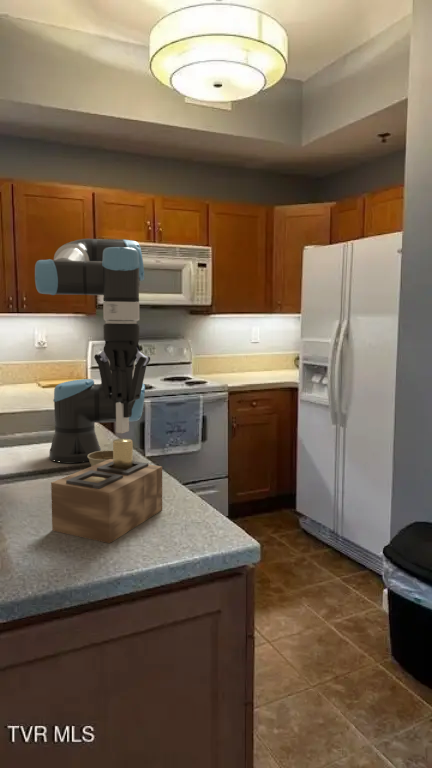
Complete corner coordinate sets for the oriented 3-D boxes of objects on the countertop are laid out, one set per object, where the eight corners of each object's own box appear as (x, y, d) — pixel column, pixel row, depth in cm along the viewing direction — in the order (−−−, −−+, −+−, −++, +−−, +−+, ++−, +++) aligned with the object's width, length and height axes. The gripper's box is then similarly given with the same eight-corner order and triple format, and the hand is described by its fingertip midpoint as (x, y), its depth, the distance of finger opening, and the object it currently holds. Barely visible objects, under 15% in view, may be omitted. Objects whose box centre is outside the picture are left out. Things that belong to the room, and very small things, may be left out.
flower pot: (80, 488, 138) (79, 454, 136) (111, 480, 144) (110, 448, 143) (102, 497, 131) (102, 462, 130) (133, 488, 138) (133, 454, 137)
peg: (120, 473, 123) (120, 437, 122) (136, 475, 122) (136, 439, 121) (109, 478, 120) (109, 441, 118) (125, 481, 118) (125, 443, 117)
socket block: (110, 500, 129) (110, 456, 128) (162, 509, 123) (162, 463, 122) (52, 530, 111) (50, 479, 110) (109, 543, 105) (108, 489, 104)
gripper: (85, 322, 115) (87, 432, 118) (138, 323, 110) (138, 438, 113) (106, 321, 122) (108, 425, 125) (157, 322, 117) (157, 431, 120)
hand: (122, 431), depth 119 cm, fingers closed
